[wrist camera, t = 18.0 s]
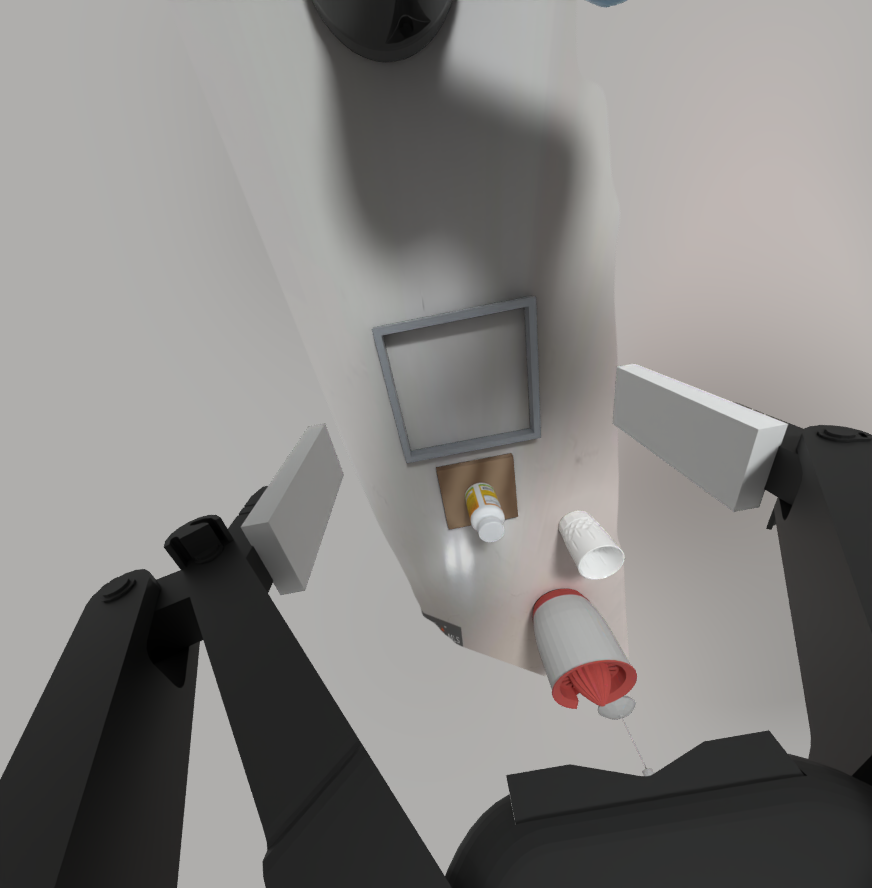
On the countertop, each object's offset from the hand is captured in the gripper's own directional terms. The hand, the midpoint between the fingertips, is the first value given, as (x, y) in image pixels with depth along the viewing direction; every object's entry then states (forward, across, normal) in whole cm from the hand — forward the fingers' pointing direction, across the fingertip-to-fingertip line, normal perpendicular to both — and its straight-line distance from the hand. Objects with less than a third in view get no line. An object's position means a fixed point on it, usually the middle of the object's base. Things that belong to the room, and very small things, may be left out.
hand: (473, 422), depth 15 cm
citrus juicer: (+35, +17, -66) cm, 77 cm away
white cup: (+35, +21, -42) cm, 58 cm away
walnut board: (+35, +3, -30) cm, 46 cm away
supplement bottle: (+34, +3, -30) cm, 45 cm away
